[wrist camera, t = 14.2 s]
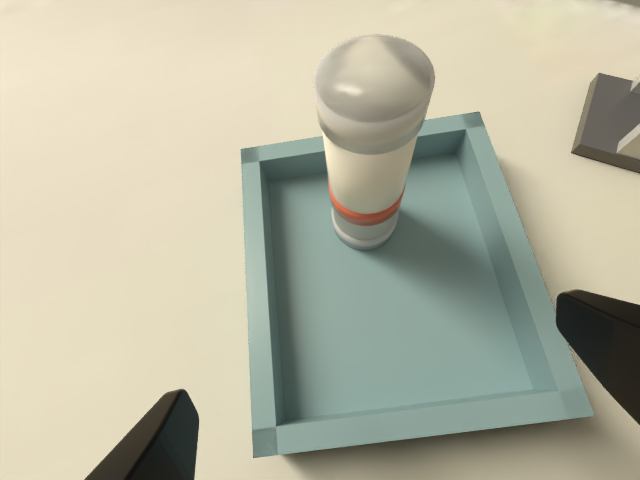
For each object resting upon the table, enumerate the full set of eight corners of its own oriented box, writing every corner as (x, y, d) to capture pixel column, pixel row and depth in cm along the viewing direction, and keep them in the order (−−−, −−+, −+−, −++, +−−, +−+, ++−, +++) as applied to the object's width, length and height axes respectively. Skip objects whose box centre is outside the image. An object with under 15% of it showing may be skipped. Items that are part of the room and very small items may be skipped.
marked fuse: (408, 218, 23) (460, 69, 12) (366, 263, 22) (379, 147, 11) (361, 183, 24) (367, 18, 13) (320, 223, 23) (288, 84, 12)
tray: (553, 409, 19) (595, 416, 16) (269, 444, 20) (253, 458, 16) (463, 144, 26) (479, 111, 23) (254, 176, 26) (240, 149, 23)
